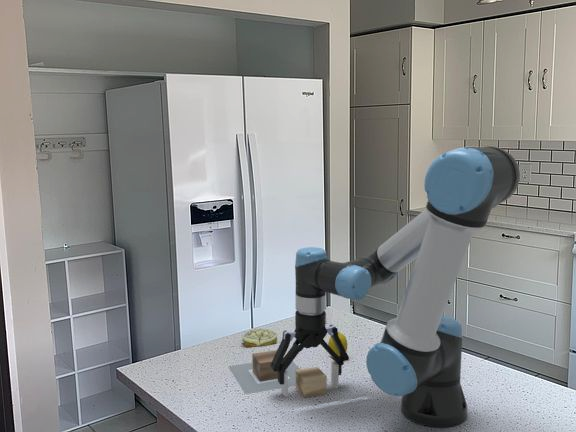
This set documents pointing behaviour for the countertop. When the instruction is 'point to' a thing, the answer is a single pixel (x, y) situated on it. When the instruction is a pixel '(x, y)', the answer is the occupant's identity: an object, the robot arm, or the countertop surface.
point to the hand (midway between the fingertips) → (310, 391)
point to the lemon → (333, 346)
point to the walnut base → (264, 365)
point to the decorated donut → (259, 338)
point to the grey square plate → (253, 384)
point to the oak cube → (311, 382)
